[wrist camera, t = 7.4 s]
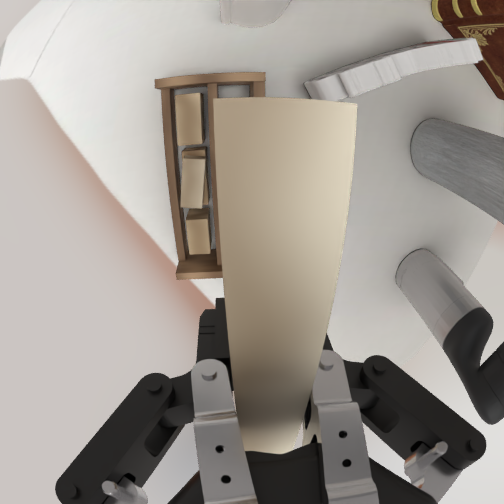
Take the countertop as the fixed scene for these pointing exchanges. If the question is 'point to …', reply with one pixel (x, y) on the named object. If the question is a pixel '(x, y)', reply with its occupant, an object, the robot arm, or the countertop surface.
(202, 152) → the block
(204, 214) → the offcut
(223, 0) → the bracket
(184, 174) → the upper offcut
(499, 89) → the decorative book
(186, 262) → the rack
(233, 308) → the sheet
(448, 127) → the vase
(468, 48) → the decorative sign
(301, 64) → the countertop surface
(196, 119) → the offcut
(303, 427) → the robot arm
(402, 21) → the countertop surface
